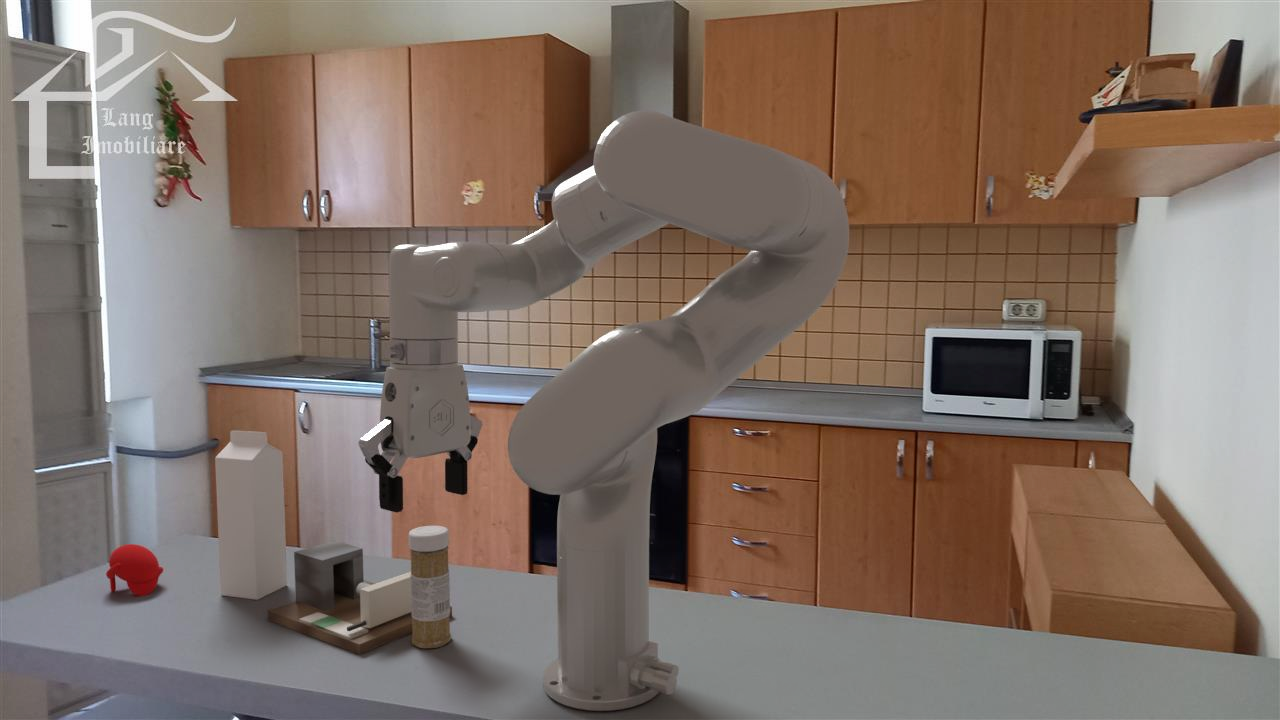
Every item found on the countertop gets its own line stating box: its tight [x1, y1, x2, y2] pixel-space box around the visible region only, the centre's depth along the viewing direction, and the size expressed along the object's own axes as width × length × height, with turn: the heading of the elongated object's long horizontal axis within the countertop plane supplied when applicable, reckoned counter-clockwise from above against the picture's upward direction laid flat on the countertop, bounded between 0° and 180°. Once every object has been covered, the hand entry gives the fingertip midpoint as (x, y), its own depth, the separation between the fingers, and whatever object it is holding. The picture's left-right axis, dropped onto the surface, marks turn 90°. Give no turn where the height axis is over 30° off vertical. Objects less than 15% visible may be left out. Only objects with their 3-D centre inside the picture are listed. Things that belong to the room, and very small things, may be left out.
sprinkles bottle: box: [408, 525, 452, 649], centre depth 101 cm, size 5×5×14 cm
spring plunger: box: [347, 571, 411, 631], centre depth 106 cm, size 7×10×4 cm, turn 145°
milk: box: [214, 430, 288, 601], centre depth 118 cm, size 6×6×22 cm
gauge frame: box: [266, 540, 453, 656], centre depth 109 cm, size 18×14×8 cm
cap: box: [105, 543, 164, 597], centre depth 119 cm, size 8×6×6 cm
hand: (425, 501), depth 100 cm, fingers open, 9 cm apart
